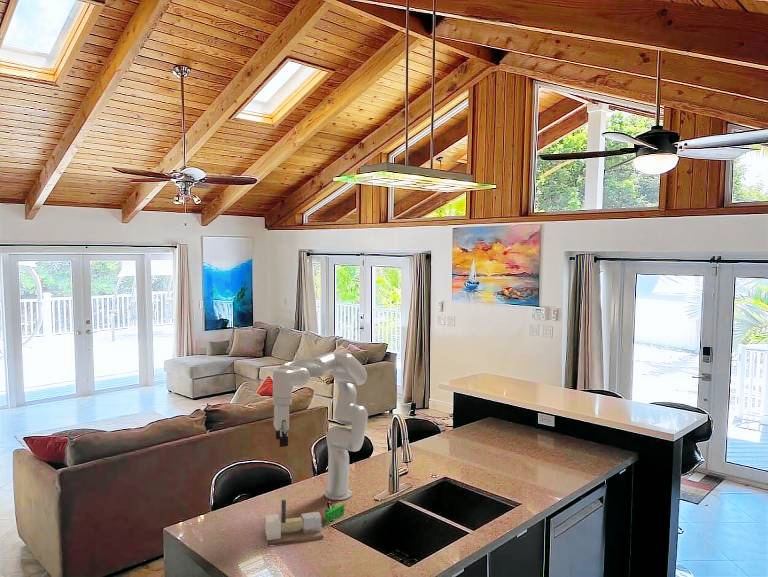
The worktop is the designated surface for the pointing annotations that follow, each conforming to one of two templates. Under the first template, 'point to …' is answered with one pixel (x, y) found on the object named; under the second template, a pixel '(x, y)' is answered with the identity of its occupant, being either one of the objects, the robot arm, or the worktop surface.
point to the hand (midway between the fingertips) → (281, 442)
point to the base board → (294, 537)
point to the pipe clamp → (334, 513)
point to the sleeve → (311, 522)
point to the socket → (272, 527)
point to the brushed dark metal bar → (289, 523)
